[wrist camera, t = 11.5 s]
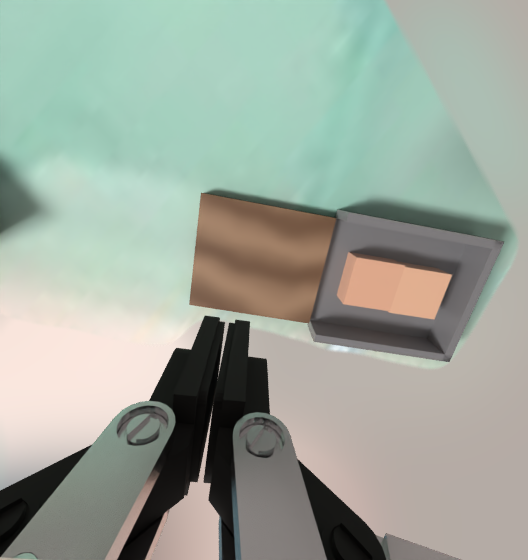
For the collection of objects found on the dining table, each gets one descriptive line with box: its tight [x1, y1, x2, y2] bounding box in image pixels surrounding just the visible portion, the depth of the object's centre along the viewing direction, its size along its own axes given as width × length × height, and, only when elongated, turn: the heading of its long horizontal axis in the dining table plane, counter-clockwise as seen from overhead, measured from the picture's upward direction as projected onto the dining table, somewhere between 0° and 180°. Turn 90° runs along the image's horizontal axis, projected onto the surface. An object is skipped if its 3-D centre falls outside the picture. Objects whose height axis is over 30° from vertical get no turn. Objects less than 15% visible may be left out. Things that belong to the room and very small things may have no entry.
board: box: [189, 193, 336, 323], centre depth 34 cm, size 14×16×2 cm
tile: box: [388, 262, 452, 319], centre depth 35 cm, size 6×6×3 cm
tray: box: [308, 210, 504, 362], centre depth 34 cm, size 16×18×4 cm
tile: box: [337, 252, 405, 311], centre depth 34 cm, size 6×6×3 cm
